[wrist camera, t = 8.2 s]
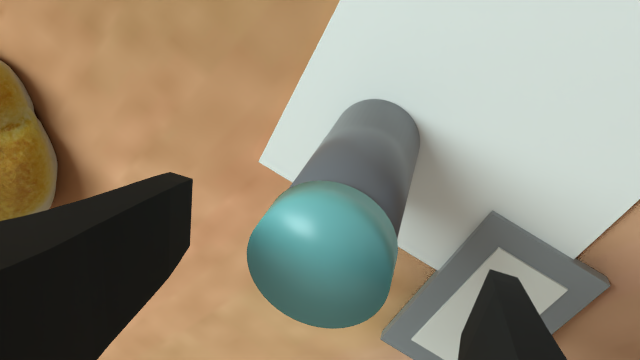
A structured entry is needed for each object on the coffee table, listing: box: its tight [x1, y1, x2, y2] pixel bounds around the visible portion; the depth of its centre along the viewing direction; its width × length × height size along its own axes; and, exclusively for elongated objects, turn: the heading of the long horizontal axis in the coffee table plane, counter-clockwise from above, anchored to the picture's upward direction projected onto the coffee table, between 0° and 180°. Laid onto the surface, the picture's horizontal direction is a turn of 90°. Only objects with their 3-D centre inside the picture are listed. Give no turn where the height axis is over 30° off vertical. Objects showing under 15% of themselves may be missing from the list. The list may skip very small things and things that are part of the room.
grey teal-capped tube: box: [247, 99, 420, 328], centre depth 15 cm, size 3×3×8 cm
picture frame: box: [380, 210, 610, 360], centre depth 20 cm, size 5×8×1 cm, turn 152°
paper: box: [259, 0, 640, 271], centre depth 16 cm, size 12×14×1 cm
